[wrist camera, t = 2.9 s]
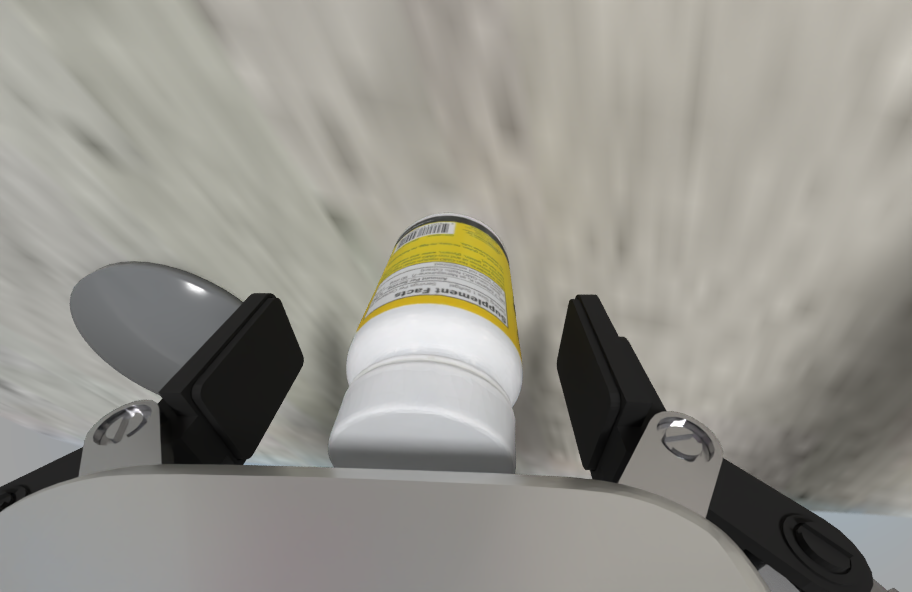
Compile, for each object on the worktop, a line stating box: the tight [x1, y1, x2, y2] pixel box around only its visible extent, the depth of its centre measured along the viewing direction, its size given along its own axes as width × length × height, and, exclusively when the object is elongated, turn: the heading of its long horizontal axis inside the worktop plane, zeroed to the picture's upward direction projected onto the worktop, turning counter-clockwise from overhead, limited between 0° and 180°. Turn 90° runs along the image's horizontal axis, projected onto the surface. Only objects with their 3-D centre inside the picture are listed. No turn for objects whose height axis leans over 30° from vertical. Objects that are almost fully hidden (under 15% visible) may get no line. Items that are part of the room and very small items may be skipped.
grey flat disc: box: [70, 261, 243, 395], centre depth 17 cm, size 10×10×1 cm
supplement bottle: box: [328, 213, 523, 474], centre depth 10 cm, size 5×5×8 cm
